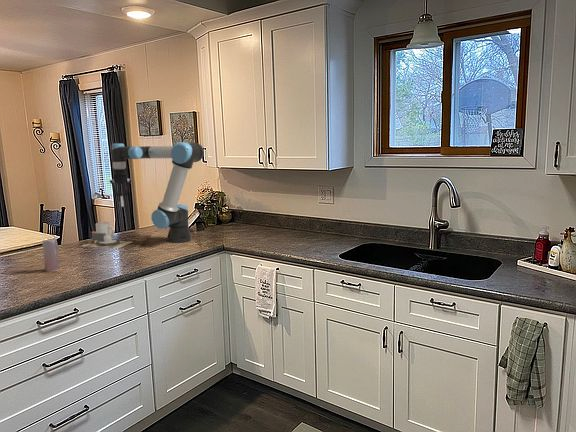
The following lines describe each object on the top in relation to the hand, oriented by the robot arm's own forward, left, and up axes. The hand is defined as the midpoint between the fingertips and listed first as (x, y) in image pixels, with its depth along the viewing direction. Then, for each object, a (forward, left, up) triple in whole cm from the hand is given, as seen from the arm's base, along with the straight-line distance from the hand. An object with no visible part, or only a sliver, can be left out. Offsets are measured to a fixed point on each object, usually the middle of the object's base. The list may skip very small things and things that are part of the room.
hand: (122, 206), depth 274 cm
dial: (+3, +16, -20) cm, 26 cm away
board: (+1, +16, -22) cm, 27 cm away
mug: (+13, 0, -22) cm, 25 cm away
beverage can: (-2, +68, -22) cm, 71 cm away
